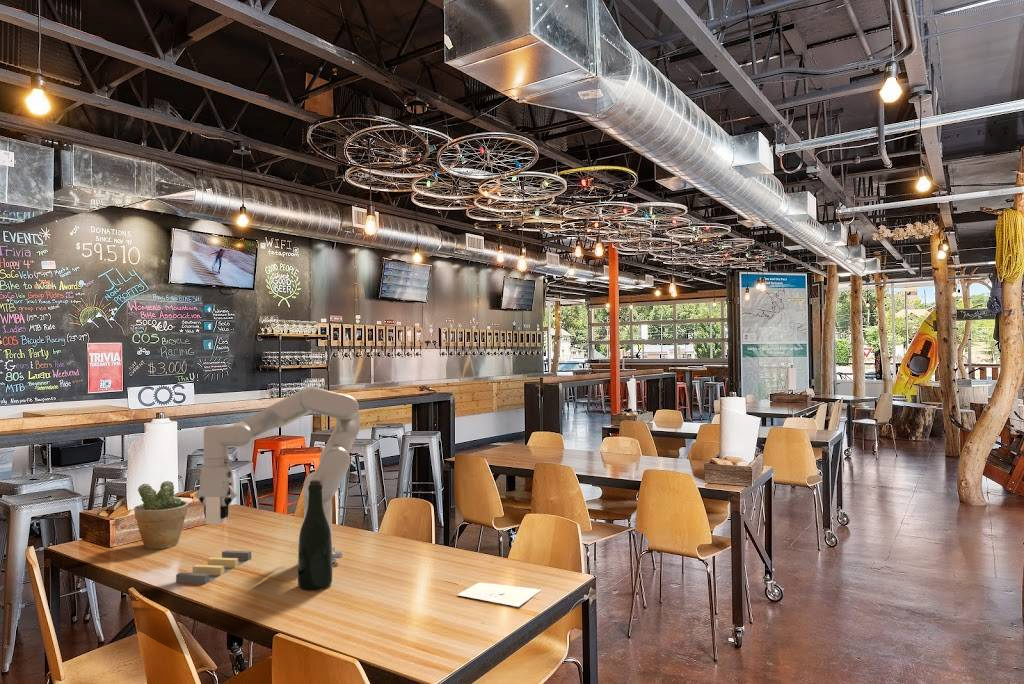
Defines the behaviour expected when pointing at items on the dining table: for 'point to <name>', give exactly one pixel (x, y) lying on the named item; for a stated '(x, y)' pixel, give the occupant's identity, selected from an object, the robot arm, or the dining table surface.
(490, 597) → the paper sheet
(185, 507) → the potted plant
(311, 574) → the beer bottle
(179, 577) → the notch rail
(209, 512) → the frame block
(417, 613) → the dining table surface
